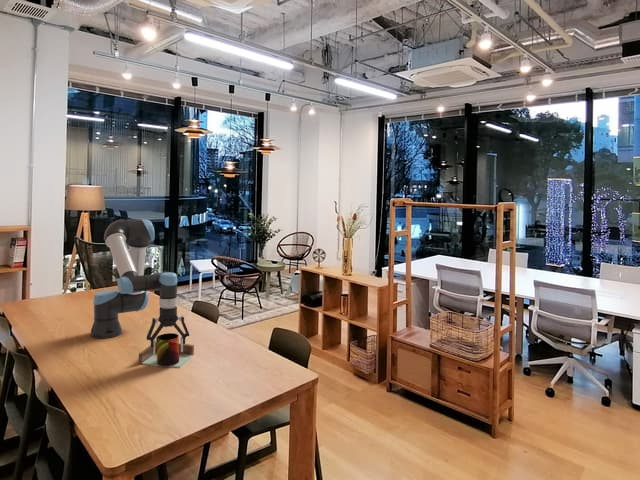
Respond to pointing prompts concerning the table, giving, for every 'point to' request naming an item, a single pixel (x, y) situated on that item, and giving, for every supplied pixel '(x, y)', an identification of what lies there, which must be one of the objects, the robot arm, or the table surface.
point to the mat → (182, 360)
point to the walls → (149, 351)
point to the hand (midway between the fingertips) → (168, 352)
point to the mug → (167, 349)
